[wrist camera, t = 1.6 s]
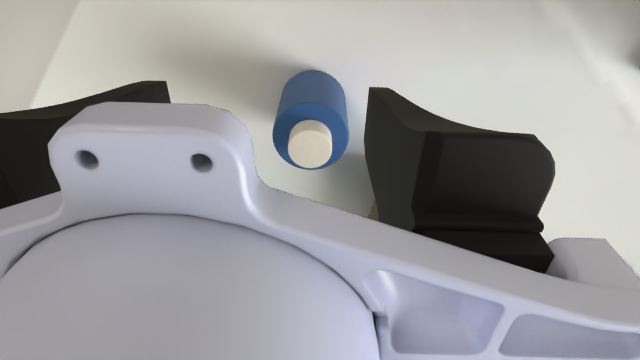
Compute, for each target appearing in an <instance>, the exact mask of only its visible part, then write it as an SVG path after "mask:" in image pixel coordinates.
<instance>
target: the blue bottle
mask: <svg viewBox="0 0 640 360" xmlns="http://www.w3.org/2000/svg"><path fill="white" fill-rule="evenodd" d="M348 141H349V131H348V121H347V112H346V102H345V95H344V92H343V89H342V87H341V85H340V84H339V83H338V82H337V81H336V79H334V78H333V77H332V76H330V75H328V74H326V73H324V72H320V71H305V72H302V73H299V74H297V75H295V76H294V77H292V78H291V79H290V80H289V81H288V82H287V84H286V85H285V87H284V89H283V92H282V95H281V99H280V103H279V107H278V111H277V115H276V119H275V123H274V128H273V142H274V145H275V148H276V150H277V152H278V153H279V154H280V156H281V157H282V158H283V159H284V160H285V161H287V162H288V163H289V164H291V165H293V166H295V167H298V168H302V169H307V170H315V169H322V168H325V167H328V166H330V165H332V164H333V163H335V162H336V161H337V160H338V159H339V158H340V157H341V156H342V155H343V154H344V152H345V150H346V148H347V145H348Z"/></svg>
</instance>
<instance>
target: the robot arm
mask: <svg viewBox="0 0 640 360" xmlns="http://www.w3.org/2000/svg"><path fill="white" fill-rule="evenodd" d="M364 146H365V158H366V163H367V167H368V171H369V175H370V179H371V183H372V187H373V191H374V195H375V199H376V204H377V210H378V218H379V222H378V221H375V220H372V219H369V218H365V217H362V216H359V215H356V214H353V213H350V212H347V211H344V210H340V209H337V208H334V207H331V206H328V205H325V204H322V203H318V202H315V201H312V200H309V199H306V198H303V197H300V196H296V195H293V194H290V193H287V192H284V191H281V190H278V189H275V188H271V187H269V186H268V185H266V184H265V183H264V182H263V181H262V180H261V179H260V178H259V176H258V174H257V171H256V167H255V160H254V148H253V143H252V140H251V138H250V135H249V133H248V130H247V128H246V125H244V124H243V123H242V122H241V121H240V120H239V119H237V118H236V117H235V116H234V115H233V114H232V113H230V112H229V111H228V110H224V109H220V108H216V107H213V106H209V105H205V104H172V103H171V102H170V97H169V92H168V88H167V83H166V81H141V82H136V83H132V84H129V85H125V86H122V87H119V88H116V89H112V90H109V91H106V92H103V93H100V94H96V95H93V96H89V97H86V98H82V99H79V100H75V101H71V102H67V103H63V104H58V105H53V106H48V107H43V108H37V109H30V110H23V111H15V112H8V113H0V360H640V278H639V277H638V276H637V275H636V274H635V273H634V272H633V270H632V269H631V268H630V267H629V266H628V265H627V263H626V262H625V261H624V260H623V259H622V258H621V257H620V255H619V254H618V253H617V252H616V251H615V250H614V249H613V247H612V246H611V245H610V244H609V243H608V242H607V240H606V239H594V238H558V239H555V240H553V241H551V242H549V243H548V244H547V243H546V242H545V240H544V239H543V237H542V236H541V234H540V233H539V232H542V231H543V229H544V224H543V223H542V222H541V220H540V219H539V217H538V214H539V212H540V210H541V207H542V205H543V203H544V201H545V199H546V197H547V194H548V192H549V190H550V188H551V186H552V183H553V179H554V176H555V162H554V160H553V157H552V155H551V153H550V151H549V150H548V149H547V148H546V147H545V146H544V145H543V144H542V143H541V142H540V141H539V140H538V138H537V137H536V136H535V135H534V134H521V133H508V132H498V131H492V130H486V129H480V128H475V127H471V126H467V125H463V124H460V123H456V122H453V121H450V120H447V119H445V118H442V117H440V116H437V115H435V114H432V113H430V112H428V111H426V110H424V109H423V108H421V107H419V106H417V105H415V104H414V103H412V102H410V101H409V100H407V99H406V98H404V97H402V96H401V95H399V94H398V93H396V92H395V91H393V90H391V89H389V88H380V87H369V95H368V105H367V114H366V124H365V133H364Z"/></svg>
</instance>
